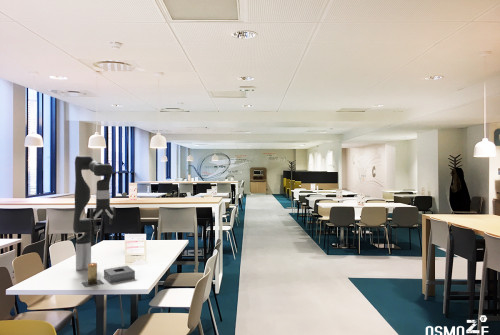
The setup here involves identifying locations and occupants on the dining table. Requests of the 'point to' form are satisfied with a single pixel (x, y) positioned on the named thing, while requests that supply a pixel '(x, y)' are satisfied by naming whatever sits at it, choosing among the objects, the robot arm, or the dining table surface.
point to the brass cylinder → (92, 273)
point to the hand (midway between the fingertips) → (102, 225)
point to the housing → (119, 274)
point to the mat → (92, 284)
